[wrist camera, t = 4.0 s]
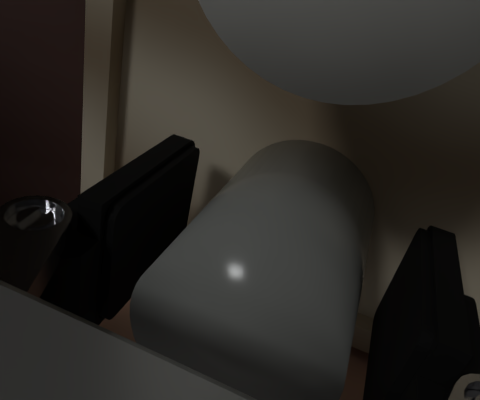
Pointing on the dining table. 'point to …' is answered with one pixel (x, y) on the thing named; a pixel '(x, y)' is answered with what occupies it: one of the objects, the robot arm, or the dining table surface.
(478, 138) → the birch tray
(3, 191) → the dining table surface
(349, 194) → the pebble dark
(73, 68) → the dining table surface
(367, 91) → the pebble grey
